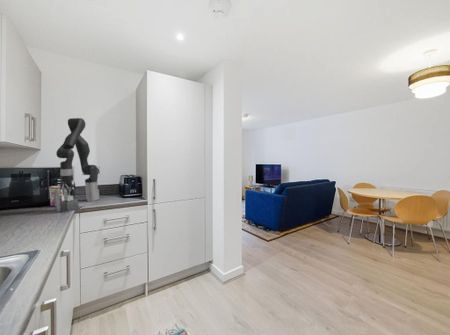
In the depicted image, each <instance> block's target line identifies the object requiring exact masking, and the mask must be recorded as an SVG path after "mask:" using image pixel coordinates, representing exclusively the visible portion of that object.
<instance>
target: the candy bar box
mask: <svg viewBox="0 0 450 335" xmlns="http://www.w3.org/2000/svg"><path fill="white" fill-rule="evenodd" d="M54 191H59V193H61V192H62V194H61V195H59V200H60V201H64V195H63V191H62V190H60V185H53V186H48V193H49V204H50V207H55V199H54Z"/></svg>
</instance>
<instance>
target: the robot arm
mask: <svg viewBox="0 0 450 335" xmlns="http://www.w3.org/2000/svg"><path fill="white" fill-rule="evenodd" d="M67 125H68V128H69V131H70V132H69V133H68V135H66V137H65V139H64V141H63V143H62V144H61V145H60V147H59V148H58V149H57V150H56V154H55V155H56V157H57V158H59V159H65V160H64V161H60V163H59V165H60V166H59V167H60V172H59V173H60V174H59V175H60V182H59V186H60V190H62V191H63V192H64V190H63V188H68V189H69V190H70V196H73V197H74V195H75V192H74V191H75V190H76V189H77V188H76V182H75V181H74V170H73V160H74V157H75V152H74V150H73V149H74V148H75V150H76V152H77V154H78V157H79V158H78V159H79V163H80V168H81V172H82V174H83V175H86V176H88V175H89V177H88V178H86V179H84V184H85V185H84V186H85V197H86V198H85V199H86V200H85V201H86V202H94V201H99V200H100V189H99V188H98V178H99V176H98V174H99V173H98V172H99V171H98V166H97V165H96V164H89V162H88V161H89V160H88V157H89V155H90V151H91V150H90V145H89V142H87V140H86V139H85V138H84V137H82V135H81V134H82V133H83V131H84V130H85V128H86V120H85V119H84V118H82V117H76V118H74V117H73V118H68V119H67ZM73 181H74V182H73ZM63 194H64V193H63Z"/></svg>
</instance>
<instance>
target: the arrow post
mask: <svg viewBox="0 0 450 335" xmlns="http://www.w3.org/2000/svg"><path fill="white" fill-rule="evenodd" d="M61 194H62V192H61V193H59V191H54V199H55V206H54V210H56V211H55V213H56V214H58V213H61V212H60V200H59V195H61Z"/></svg>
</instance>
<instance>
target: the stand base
mask: <svg viewBox="0 0 450 335" xmlns="http://www.w3.org/2000/svg"><path fill="white" fill-rule="evenodd" d="M82 207H85V208H86V206H85V205H84V206H83V205H79V199H74V198H73V201H69V202H65V201H60V212H59V213H63V212H64V213H65V214H66V212H67V213H70V212H69V211H71V212H74V211H79V210H81V209H80V208H82ZM82 209H83V208H82ZM73 210H74V211H73ZM53 212H56V210H55V209H53ZM64 213H63V214H64Z"/></svg>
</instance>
